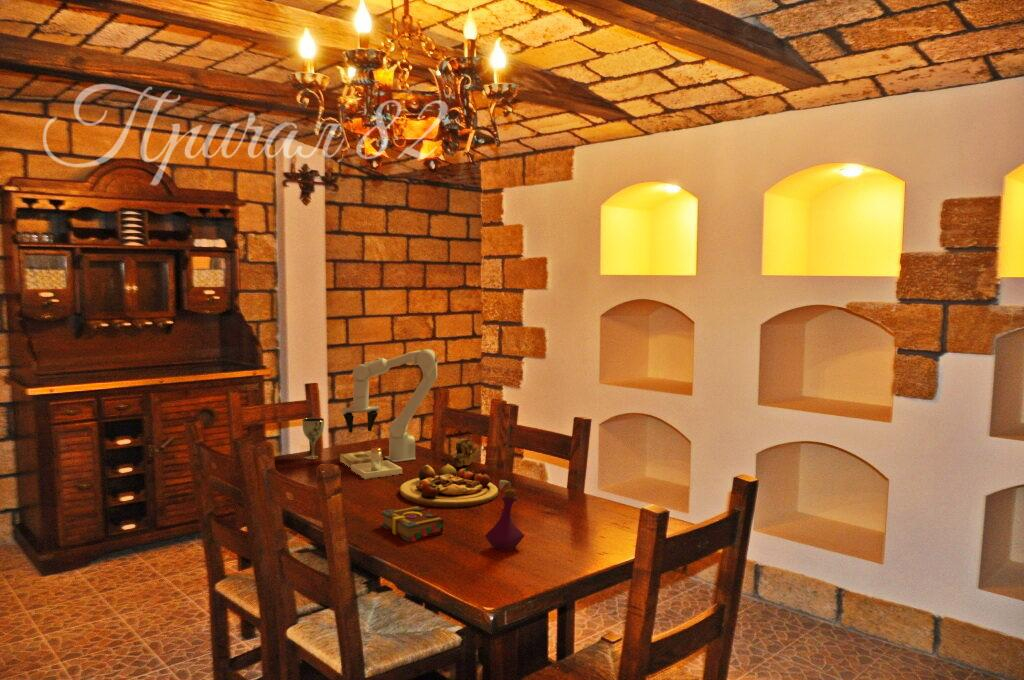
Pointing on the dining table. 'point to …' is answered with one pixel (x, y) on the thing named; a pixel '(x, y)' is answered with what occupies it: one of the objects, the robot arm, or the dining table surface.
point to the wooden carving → (464, 453)
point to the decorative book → (412, 523)
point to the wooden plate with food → (449, 488)
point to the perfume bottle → (505, 524)
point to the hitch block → (356, 458)
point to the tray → (386, 470)
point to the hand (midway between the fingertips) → (360, 431)
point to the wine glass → (313, 431)
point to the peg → (376, 459)
